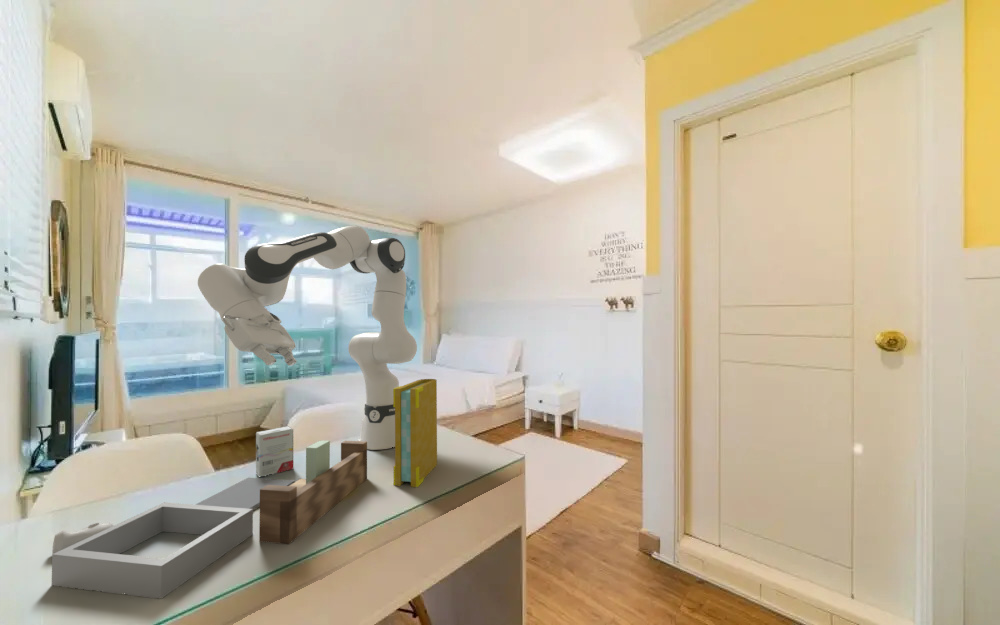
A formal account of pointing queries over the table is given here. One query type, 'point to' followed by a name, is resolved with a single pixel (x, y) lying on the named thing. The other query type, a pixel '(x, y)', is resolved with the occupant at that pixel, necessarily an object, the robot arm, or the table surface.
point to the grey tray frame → (112, 572)
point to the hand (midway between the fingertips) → (283, 363)
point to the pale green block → (317, 459)
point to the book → (415, 431)
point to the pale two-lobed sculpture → (77, 536)
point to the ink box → (274, 451)
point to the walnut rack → (310, 496)
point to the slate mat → (243, 493)
